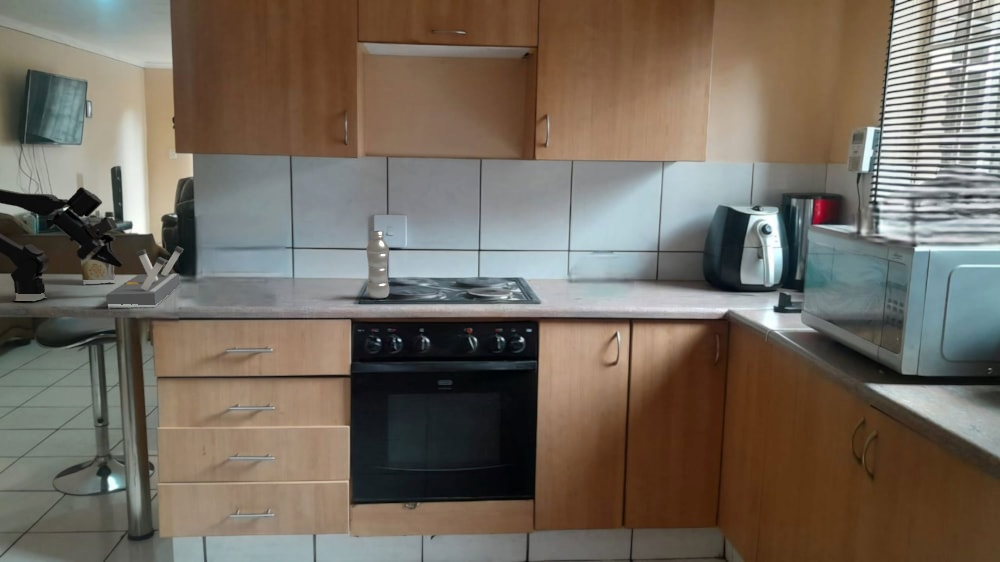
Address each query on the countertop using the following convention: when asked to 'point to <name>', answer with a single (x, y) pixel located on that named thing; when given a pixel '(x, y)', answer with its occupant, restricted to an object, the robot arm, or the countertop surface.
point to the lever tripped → (145, 262)
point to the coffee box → (96, 269)
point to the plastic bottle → (377, 266)
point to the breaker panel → (137, 295)
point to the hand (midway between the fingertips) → (121, 266)
